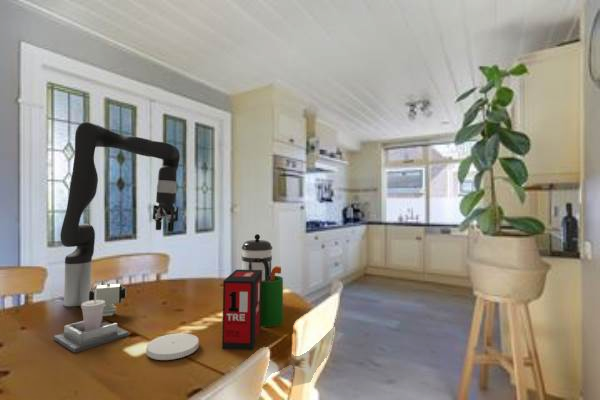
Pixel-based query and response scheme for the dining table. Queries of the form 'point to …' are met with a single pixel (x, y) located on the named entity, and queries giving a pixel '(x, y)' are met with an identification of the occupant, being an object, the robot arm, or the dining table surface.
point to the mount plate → (88, 336)
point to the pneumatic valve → (109, 296)
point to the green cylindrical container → (272, 299)
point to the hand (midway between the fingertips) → (164, 230)
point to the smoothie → (92, 313)
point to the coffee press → (257, 256)
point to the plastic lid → (172, 346)
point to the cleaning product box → (242, 309)
